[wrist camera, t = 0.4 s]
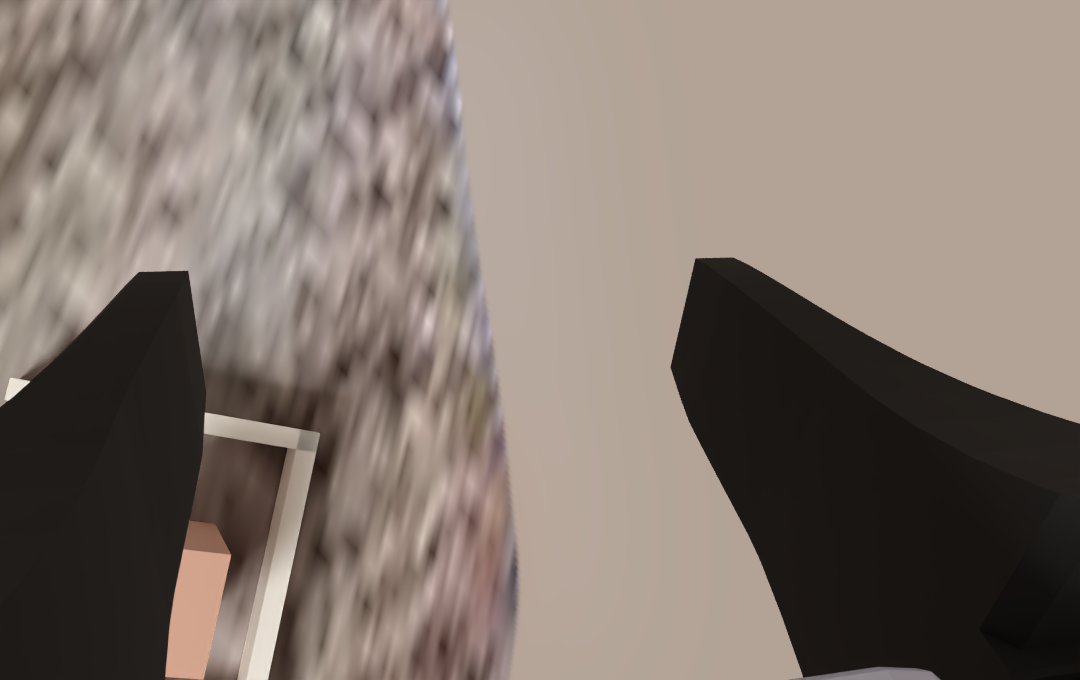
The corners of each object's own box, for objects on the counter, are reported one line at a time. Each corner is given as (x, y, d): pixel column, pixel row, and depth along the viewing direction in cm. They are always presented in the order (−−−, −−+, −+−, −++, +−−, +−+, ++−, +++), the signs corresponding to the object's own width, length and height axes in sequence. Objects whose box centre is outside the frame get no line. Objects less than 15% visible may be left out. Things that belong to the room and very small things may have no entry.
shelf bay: (244, 739, 37) (250, 760, 35) (-72, 724, 32) (-88, 748, 30) (310, 431, 39) (320, 433, 36) (19, 379, 34) (10, 377, 32)
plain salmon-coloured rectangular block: (192, 622, 36) (203, 679, 29) (85, 612, 35) (67, 669, 27) (215, 523, 37) (231, 554, 29) (109, 509, 35) (99, 539, 28)
